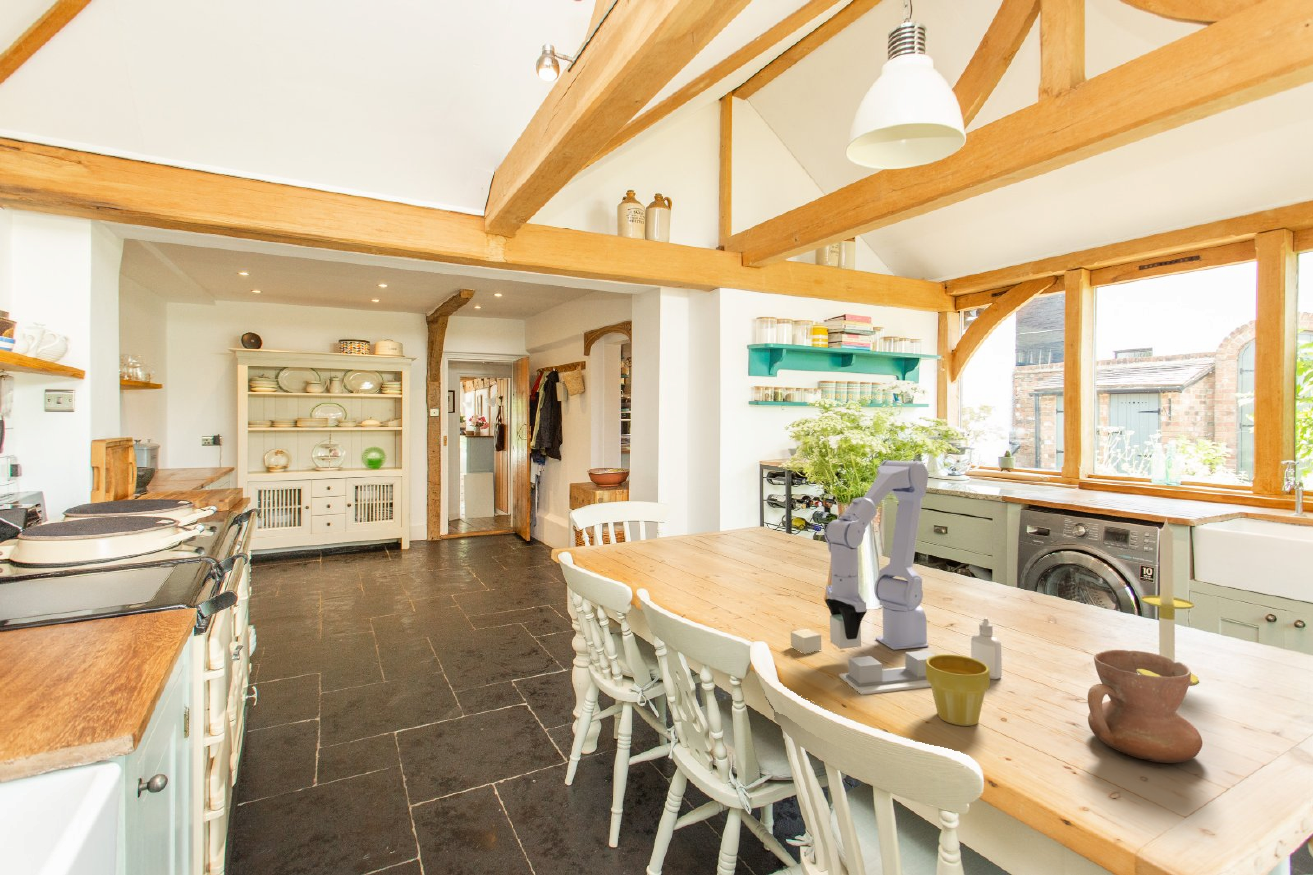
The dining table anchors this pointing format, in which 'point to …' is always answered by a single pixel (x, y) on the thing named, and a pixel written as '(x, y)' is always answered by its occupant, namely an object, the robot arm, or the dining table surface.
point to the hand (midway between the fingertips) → (846, 634)
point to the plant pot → (957, 687)
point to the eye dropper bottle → (987, 649)
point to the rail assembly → (887, 674)
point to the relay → (806, 640)
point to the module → (842, 633)
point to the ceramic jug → (1142, 706)
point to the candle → (1166, 601)
